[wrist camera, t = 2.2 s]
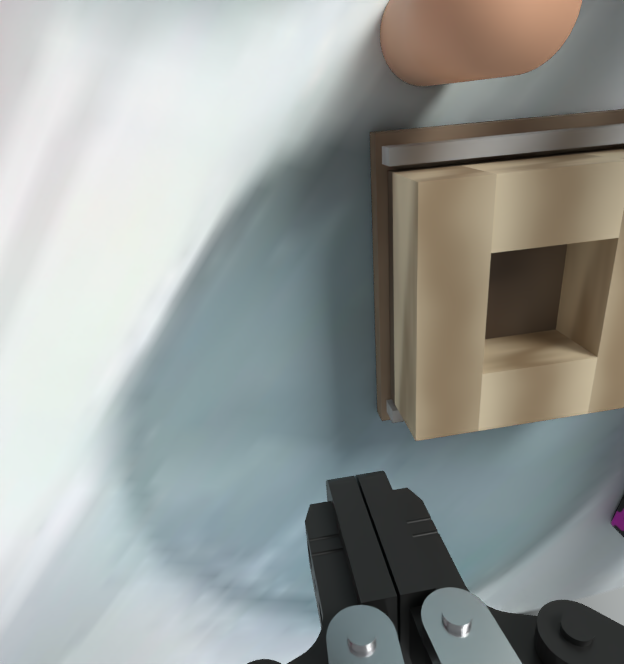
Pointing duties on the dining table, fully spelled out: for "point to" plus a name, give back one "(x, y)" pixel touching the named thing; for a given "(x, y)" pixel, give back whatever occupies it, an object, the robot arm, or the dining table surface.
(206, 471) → the dining table surface
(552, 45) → the dowel
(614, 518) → the candy bar box
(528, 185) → the socket block
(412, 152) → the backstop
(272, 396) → the dining table surface
